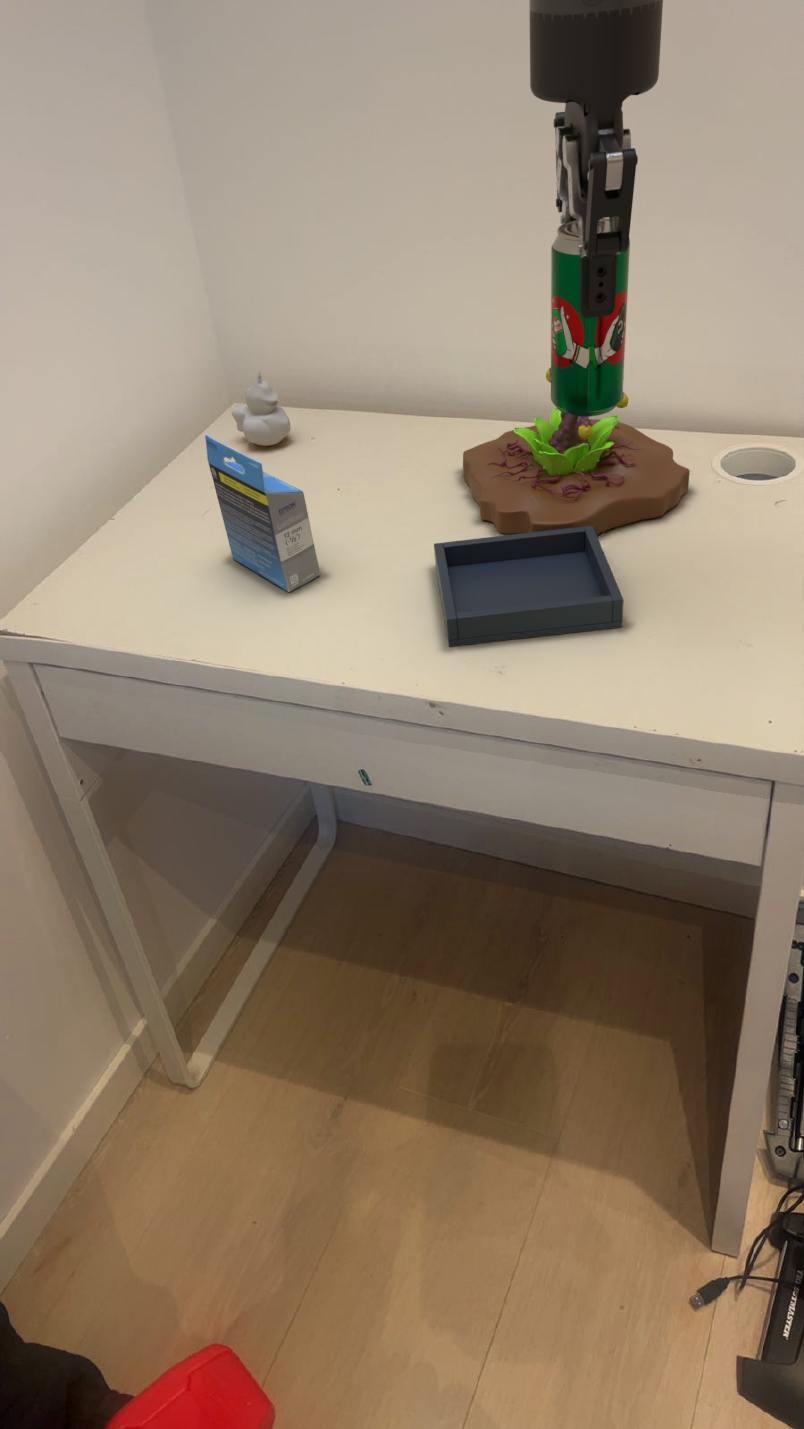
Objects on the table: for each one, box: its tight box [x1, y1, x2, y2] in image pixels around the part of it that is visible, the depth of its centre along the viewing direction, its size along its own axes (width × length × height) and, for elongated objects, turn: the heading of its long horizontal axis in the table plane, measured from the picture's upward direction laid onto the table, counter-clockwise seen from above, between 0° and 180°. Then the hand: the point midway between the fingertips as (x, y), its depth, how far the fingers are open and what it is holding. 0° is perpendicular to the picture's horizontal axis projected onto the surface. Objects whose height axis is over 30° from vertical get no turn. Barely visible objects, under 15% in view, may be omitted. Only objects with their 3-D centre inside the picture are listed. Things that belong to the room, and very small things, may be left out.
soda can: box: [550, 218, 631, 418], centre depth 71 cm, size 5×5×12 cm
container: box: [433, 526, 624, 647], centre depth 85 cm, size 14×12×3 cm
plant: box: [462, 366, 690, 536], centre depth 96 cm, size 20×20×11 cm
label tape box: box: [204, 432, 321, 593], centre depth 89 cm, size 9×4×12 cm, turn 41°
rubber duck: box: [231, 370, 291, 447], centre depth 111 cm, size 5×7×8 cm
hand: (588, 299), depth 70 cm, fingers closed on soda can, 5 cm apart
